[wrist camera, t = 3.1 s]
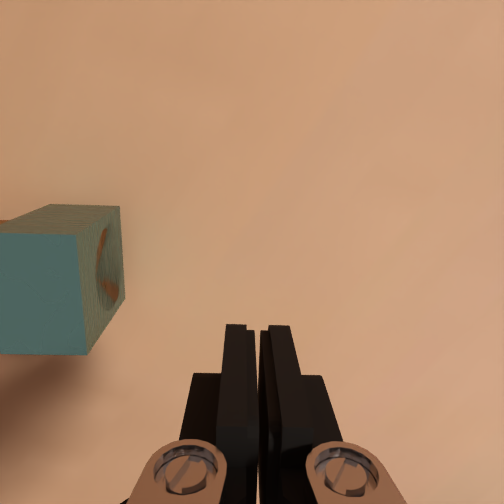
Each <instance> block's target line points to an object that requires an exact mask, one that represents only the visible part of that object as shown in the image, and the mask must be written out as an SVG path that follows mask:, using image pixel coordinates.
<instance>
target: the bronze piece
mask: <svg viewBox="0 0 504 504" xmlns="http://www.w3.org/2000/svg"><path fill="white" fill-rule="evenodd" d="M124 300H125V286H124V270H123V254H122V237H121V221H120V206H100V205H65V204H49V205H47V206H44V207H42V208H39V209H37V210H34V211H32V212H29V213H27V214H24V215H22V216H20V217H17V218H15V219H12V220H0V354H36V355H88V353H89V352H90V350H91V349H92V347H93V346H94V344H95V343H96V341H97V340H98V338H99V337H100V335H101V334H102V332H103V331H104V329H105V328H106V326H107V325H108V324H109V322H110V321H111V319H112V318H113V316H114V315H115V313H116V312H117V310H118V309H119V307H120V306H121V304H122V303H123V301H124Z"/></svg>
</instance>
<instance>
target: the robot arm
mask: <svg viewBox="0 0 504 504" xmlns="http://www.w3.org/2000/svg"><path fill="white" fill-rule="evenodd" d="M257 473H258V474H259V498H260V504H407V503H406V501H405V500H404V498H403V496H402V495H401V493H400V491H399V490H398V488H397V487H396V485H395V483H394V482H393V480H392V478H391V477H390V475H389V474H388V472H387V470H386V469H385V467H384V466H383V464H382V463H381V462H380V461H379V460H378V458H377V457H376V456H374V455H373V454H372V453H370V452H369V451H368V450H366V449H364V448H362V447H360V446H358V445H355V444H351V443H347V442H343V439H342V436H341V433H340V430H339V427H338V424H337V421H336V418H335V414H334V411H333V408H332V405H331V402H330V399H329V396H328V393H327V390H326V387H325V384H324V381H323V378H322V376H320V375H301V372H300V367H299V363H298V359H297V355H296V351H295V347H294V342H293V338H292V334H291V330H290V326H285V325H269V327H268V331H266V330H261V333H260V354H259V378H258V389H257V370H256V351H255V332H254V330H247V328H246V325H241V324H226V331H225V341H224V352H223V362H222V372H221V373H194V374H193V377H192V381H191V386H190V391H189V395H188V400H187V405H186V409H185V414H184V419H183V423H182V428H181V432H180V437H179V441H174V442H171V443H169V444H167V445H165V446H163V447H161V448H160V449H159V450H157V451H156V452H155V453H154V454H153V455H152V456H151V458H150V459H149V460H148V462H147V463H146V465H145V467H144V469H143V471H142V473H141V475H140V477H139V479H138V481H137V483H136V485H135V487H134V489H133V491H132V493H131V495H130V497H129V498H128V499H126V500H125V501H123V502H122V503H120V504H256V495H257Z"/></svg>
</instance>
